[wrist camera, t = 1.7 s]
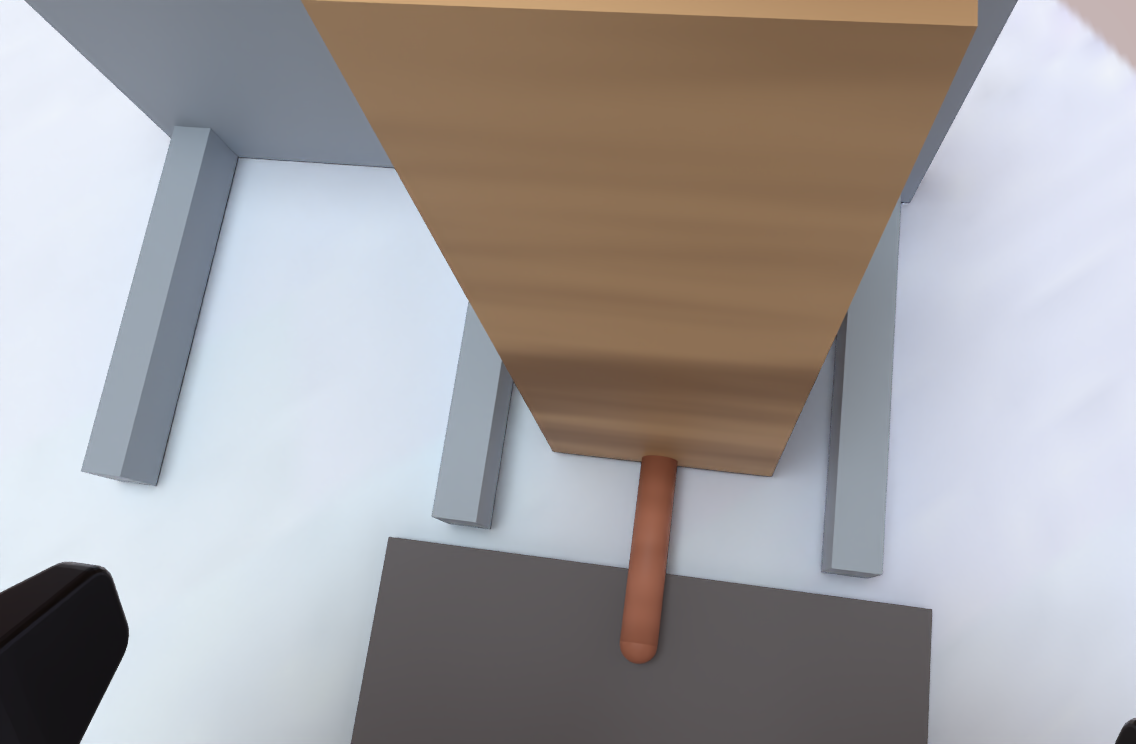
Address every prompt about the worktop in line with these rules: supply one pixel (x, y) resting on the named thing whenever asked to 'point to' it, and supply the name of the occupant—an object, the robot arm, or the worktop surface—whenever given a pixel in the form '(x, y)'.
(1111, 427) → the worktop surface
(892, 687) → the mat
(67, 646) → the robot arm
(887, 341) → the lane rack
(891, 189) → the oak block
